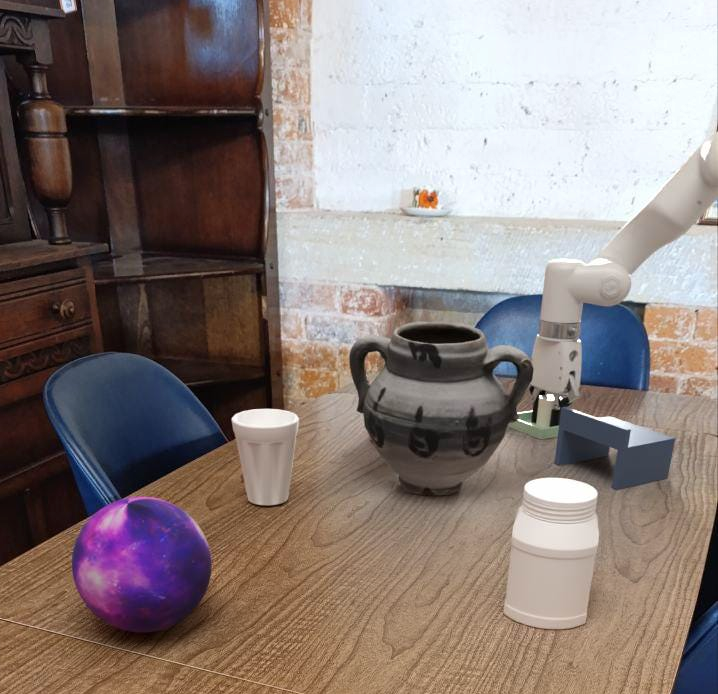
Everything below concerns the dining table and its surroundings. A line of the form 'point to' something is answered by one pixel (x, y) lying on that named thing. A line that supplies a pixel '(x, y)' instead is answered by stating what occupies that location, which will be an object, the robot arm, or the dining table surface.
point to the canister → (545, 410)
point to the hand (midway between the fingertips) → (547, 424)
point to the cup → (266, 452)
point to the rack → (634, 444)
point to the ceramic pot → (437, 401)
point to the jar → (552, 554)
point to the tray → (533, 427)
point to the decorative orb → (141, 564)
